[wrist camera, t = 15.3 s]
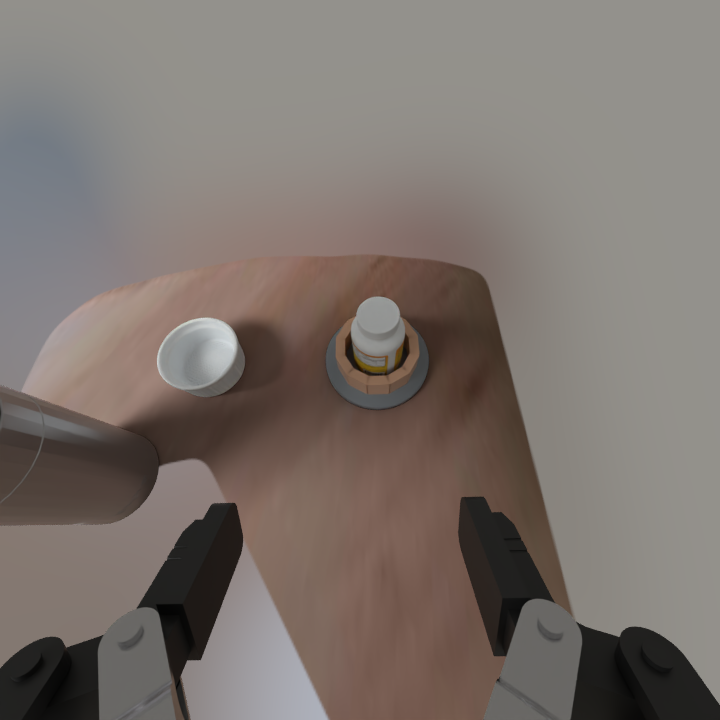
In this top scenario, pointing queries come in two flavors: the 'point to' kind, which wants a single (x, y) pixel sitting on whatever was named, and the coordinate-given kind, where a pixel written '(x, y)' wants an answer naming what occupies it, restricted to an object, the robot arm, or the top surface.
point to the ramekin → (201, 357)
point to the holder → (376, 388)
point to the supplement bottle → (378, 337)
